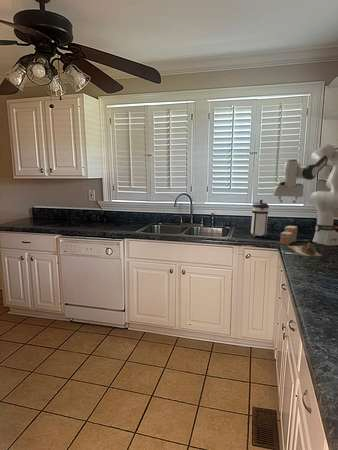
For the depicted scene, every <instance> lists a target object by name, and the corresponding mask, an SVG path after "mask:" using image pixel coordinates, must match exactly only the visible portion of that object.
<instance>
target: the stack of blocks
mask: <svg viewBox="0 0 338 450" xmlns="http://www.w3.org/2000/svg"><path fill="white" fill-rule="evenodd" d="M297 235H298V226H297V225H291V224H290V225H287V226H285V227H284V231H282V232H280V237H279V244H281V245H286V246H289V245H291V244H292V243H294V242H297Z"/></svg>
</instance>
